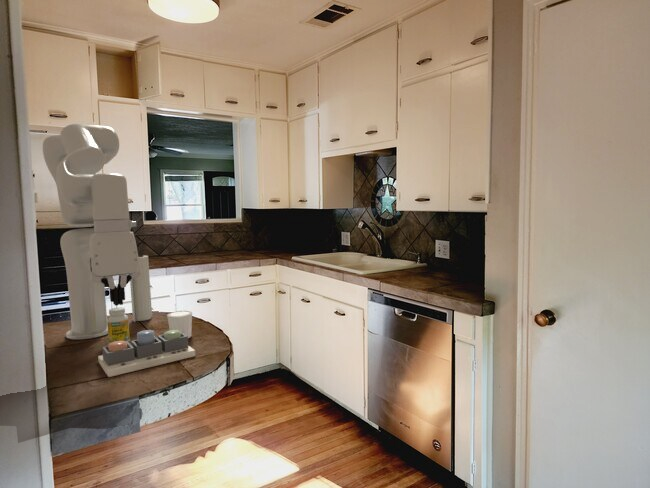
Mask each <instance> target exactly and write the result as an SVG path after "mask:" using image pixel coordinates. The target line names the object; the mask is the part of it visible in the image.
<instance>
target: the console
mask: <svg viewBox="0 0 650 488" xmlns="http://www.w3.org/2000/svg"><path fill="white" fill-rule="evenodd" d="M101 350H102V355H98V356H97V360H98V363H99V365H100V367H101V368H102V370H103V371H104V372H105V374H106V375H107V377H108V378H110V377H114V376H119V375H123V374H126V373H127V374H128V373H130V372H131V373H132V372H135V371H139V370H143V369H147V368H152V367H156V366H160V365H164V364H167V363H169V364H170V363H172V362H177V361H180V360H184V359H188V358H189V359H190V358H193V357H196V349H194V348H192V347H191V346H190V345H189V338H188V336H187V335H185V334H184V333H182V332H181V337H179V338H175V339H170V340H165V339H164V334H160V335H157V337H156V336H155V343H151V344H146V345H142V346H138V342H137V339H134V340H130V341H129V342H127V349H123V350H118V351H113V352H109V347H108V345H106V346H102V348H101Z"/></svg>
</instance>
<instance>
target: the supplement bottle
mask: <svg viewBox="0 0 650 488" xmlns="http://www.w3.org/2000/svg"><path fill="white" fill-rule="evenodd" d="M125 313H126V309H125V307H121V306H120V307H112V308H110V309H108V314H109V316H108V317H107V325H108V334H107V335H108V344H109V343H112V342H115V341H126V342H129V343H130V342H131V336H130V325H129V317H128V315H126V314H125Z"/></svg>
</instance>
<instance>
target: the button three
mask: <svg viewBox="0 0 650 488" xmlns="http://www.w3.org/2000/svg"><path fill="white" fill-rule="evenodd" d="M163 335H164V339H165V340H170V339H175V338H179V337H181V331H180V330H166V331H164V332H163Z"/></svg>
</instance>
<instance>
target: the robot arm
mask: <svg viewBox="0 0 650 488" xmlns="http://www.w3.org/2000/svg"><path fill="white" fill-rule="evenodd" d="M119 150H120V139H119V136H118V134H117V132H116V131H115V130H114V129H113V128H112V127H110V126H106V125H99V124H98V125H96V124H95V125H94V124H84V123H73V124H67V125H66V126H64V127H63V128H62V129H61V131H60V134H55V135H49V136H47V137H46V138H44V139H43V141H42V155H43V159H44V162H45V165H46V167H47V169H48V171H49V173H50V175H51V177H52V178H53V180H54V182H55V186H56V188H57V189H56V190H57V196H58V202H59V208H60V213H61V217H62V220H63V222H64V224H65V225H67V226H70V227H88V228H77V229H76V228H75V229H70V230H68V231H66V232H64V233H63V234H62V235H61V237H60V242H59V243H60V248H61V252H62V256H63V260H64V265H65V271H66V272H65V273H66V280H67V289H68V301H69V313H70V323H71V328H70V329H69V330H68V331H66V332H65V337H66V338H67V339H69V340H89V339H95V338H99V337H102V336H106V335H108V325H107V319H108V316H107V315H108V314H107V313H108V312H107V301H106V286H107V288H109V290H108V291H109V300H110V302H111V303H113V305H114V306H116V307H117V306H118V305H120V306H121V305H123V304H124V301H125V300H126V292H125V291H126V290H125V288H126V287H127V285H128V283H130V280H131V279H134V278H137V277H140V275H141V274H140V271H139V257H138V256H139V252H138V246H137V245H138V244H137V242H136V237H135V234H134V231H131V229H132V228H136V227H137V221H136V220H135V221H133V220H131V219H130V209H129V197H128V195H129V194H128V183H127V178H126V176H124V175H123V174H120V173H99V172H100V171H102V169H103V168H104V166H105V165H107V164H109V163H110V162H111V161H112V160H113V159H114V158H115V157H116V156H117V155H118V153H119ZM89 227H90V228H89ZM91 227H92V228H91ZM116 276H118V283H117V284H115V280H114V277H116Z"/></svg>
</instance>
